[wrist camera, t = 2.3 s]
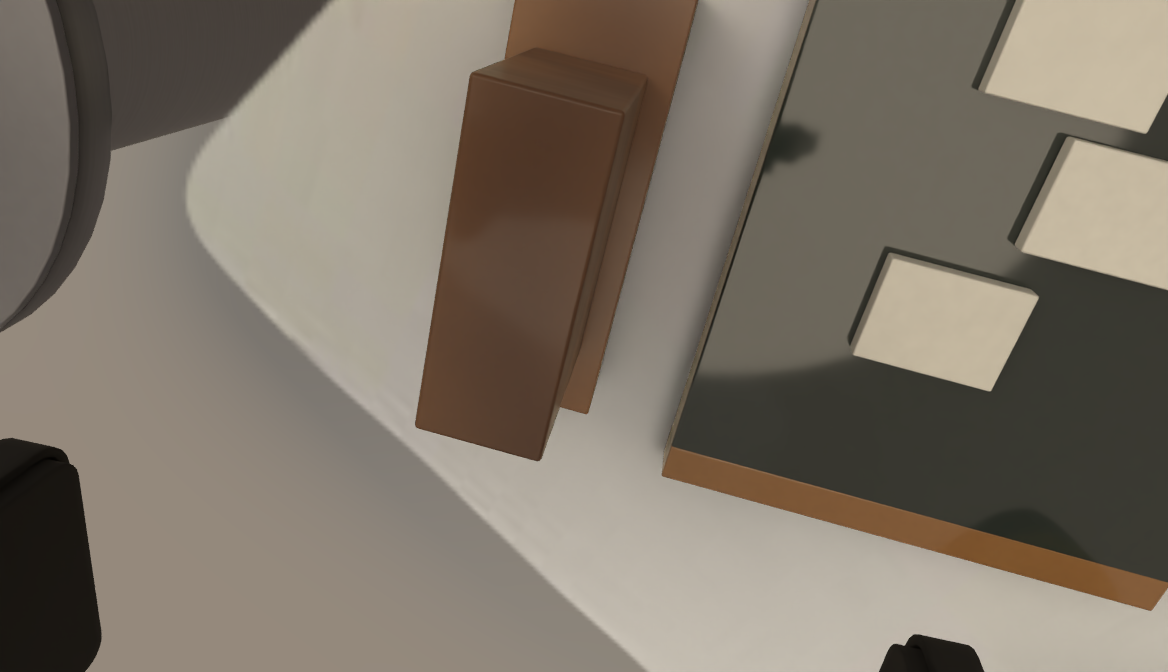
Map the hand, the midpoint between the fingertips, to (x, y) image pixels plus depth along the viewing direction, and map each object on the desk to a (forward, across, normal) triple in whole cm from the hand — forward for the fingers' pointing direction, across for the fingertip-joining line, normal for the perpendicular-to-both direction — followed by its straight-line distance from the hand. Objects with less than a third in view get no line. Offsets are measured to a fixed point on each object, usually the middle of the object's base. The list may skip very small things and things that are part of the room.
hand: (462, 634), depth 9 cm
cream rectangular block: (+15, -9, 0) cm, 18 cm away
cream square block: (+15, -10, -7) cm, 20 cm away
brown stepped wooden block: (+17, +2, -1) cm, 17 cm away
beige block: (+15, -13, -3) cm, 20 cm away
